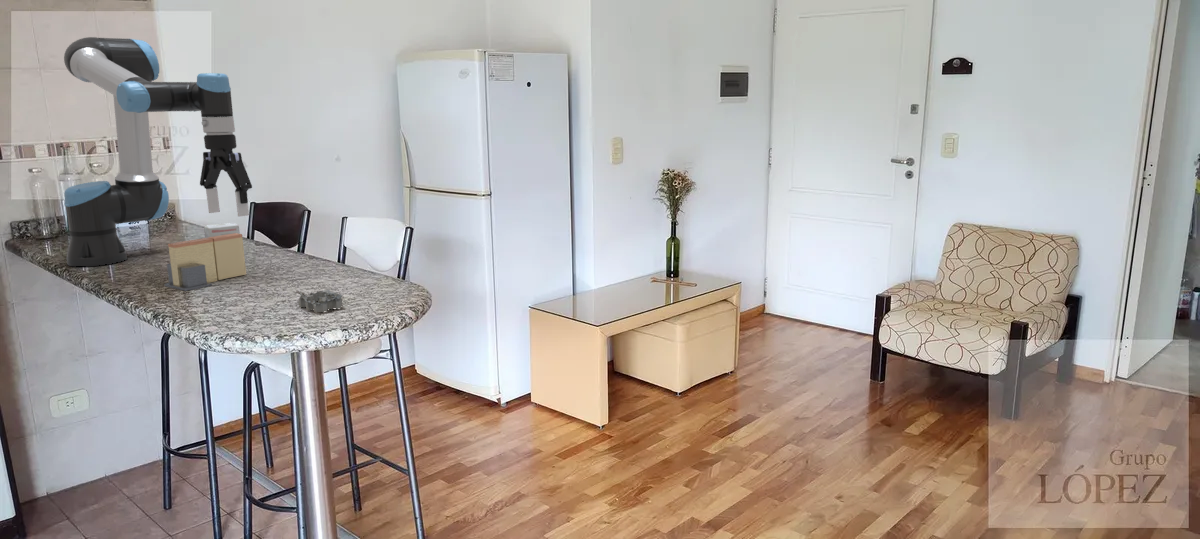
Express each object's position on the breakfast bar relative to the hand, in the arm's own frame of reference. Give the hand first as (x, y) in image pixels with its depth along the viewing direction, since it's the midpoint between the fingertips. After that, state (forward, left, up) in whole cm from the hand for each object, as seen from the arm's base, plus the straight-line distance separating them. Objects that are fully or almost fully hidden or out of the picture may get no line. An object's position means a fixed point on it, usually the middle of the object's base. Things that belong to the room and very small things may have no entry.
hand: (228, 214), depth 210 cm
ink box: (-16, +7, -17) cm, 25 cm away
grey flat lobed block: (+47, -8, -18) cm, 51 cm away
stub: (0, -2, -17) cm, 17 cm away
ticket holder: (0, -11, -17) cm, 20 cm away
